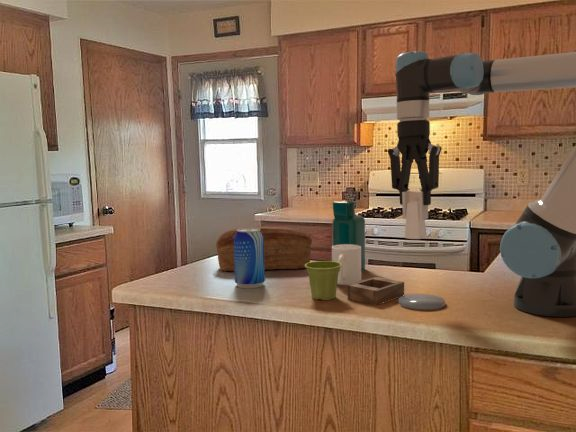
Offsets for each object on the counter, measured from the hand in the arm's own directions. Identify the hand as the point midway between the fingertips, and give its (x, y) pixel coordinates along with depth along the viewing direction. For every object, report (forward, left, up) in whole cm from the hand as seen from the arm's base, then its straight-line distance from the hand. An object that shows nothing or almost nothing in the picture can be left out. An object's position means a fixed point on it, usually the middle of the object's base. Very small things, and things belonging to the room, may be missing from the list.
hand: (415, 218), depth 132 cm
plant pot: (+20, +11, -21) cm, 31 cm away
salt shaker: (0, 0, -5) cm, 5 cm away
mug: (+25, -4, -21) cm, 33 cm away
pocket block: (+10, +2, -21) cm, 23 cm away
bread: (+59, -4, -21) cm, 62 cm away
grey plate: (-2, 0, -21) cm, 21 cm away
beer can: (+44, +15, -21) cm, 51 cm away
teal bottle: (+35, -18, -21) cm, 45 cm away
